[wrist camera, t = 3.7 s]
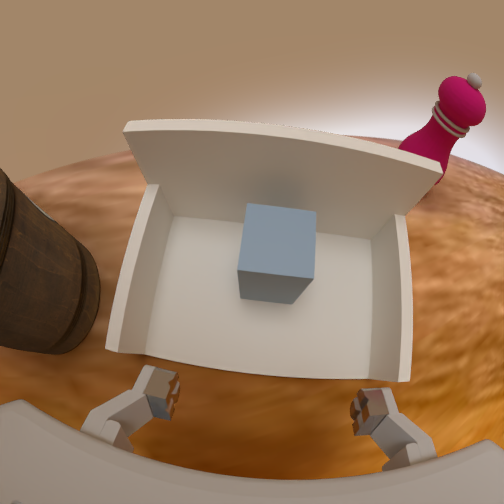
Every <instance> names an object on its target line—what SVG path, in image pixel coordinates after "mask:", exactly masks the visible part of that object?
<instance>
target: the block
mask: <svg viewBox="0 0 504 504" xmlns="http://www.w3.org/2000/svg"><path fill="white" fill-rule="evenodd" d="M315 246H316V212H314V211H307V210H300V209H292V208H284V207H277V206H268V205H260V204H251V203H247V207H246V213H245V220H244V227H243V233H242V240H241V247H240V253H239V260H238V267H237V274H238V282H239V291H240V299H248V300H256V301H265V302H274V303H283V304H293V303H294V302H295V301H296V300H297V298H298V297H299V296H300V295H301V294H302V293H303V291H304V290H305V289H306V288H307V287H308V285H309V284H310V283H311V282H312V281H313V280H314V271H315Z"/></svg>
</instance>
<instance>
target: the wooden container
mask: <svg viewBox="0 0 504 504" xmlns="http://www.w3.org/2000/svg"><path fill="white" fill-rule="evenodd" d="M99 295H100V284H99V275H98V271H97V267H96V264H95V262H94V259H93V257H92V256H91V254H90V252H89V251H88V250H87V249H86V248H85V247H84V246H83V245H82V244H81V243H80V242H79V241H78V240H76V239H75V238H74V237H73V236H72V235H70V234H69V233H68V232H67V231H66V230H65V229H64V228H63V227H62V226H60V225H59V224H58V223H57V222H56V221H55V220H53V219H52V218H51V217H50V216H49V215H48V214H46V213H45V212H44V211H43V210H42V209H40V208H39V207H38V206H37V205H36V204H35V203H33V202H32V201H31V200H30V199H29V198H28V197H27V196H26V195H25V194H24V193H23V192H21V191H20V190H19V189H18V188H17V187H16V186H15V185H14V184H13V183H12V182H11V181H10V180H9V178H8V176H7V175H6V174H5V173H4V172H3V171H2V169H0V346H4V347H8V348H13V349H18V350H23V351H30V352H37V353H44V354H62V353H66V352H68V351H70V350H72V349H73V348H75V347H76V346H77V345H78V344H79V343H80V342H81V341H82V340H83V339H84V337H85V336H86V335H87V333H88V332H89V330H90V328H91V326H92V324H93V322H94V319H95V316H96V313H97V309H98V304H99Z"/></svg>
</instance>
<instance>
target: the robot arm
mask: <svg viewBox="0 0 504 504" xmlns="http://www.w3.org/2000/svg"><path fill="white" fill-rule="evenodd" d="M178 378H179V376H178V373H177V372H173V371H169V370H165V369H161V368H157V367H153V366H150V365H145V366H144V367H143V369H142V370H141V372H140V374H139V376H138V378H137V380H136V382H135V384H134V386H133V389H132V390H127V391H125V392H124V393H122V394H120V395H118V396H116V397H115V398H113V399H111V400H109V401H107V402H106V403H104V404H102V405H100V406H98V407H96V408H95V409H93V410H91V411H90V413H89V414H88V416H87V418H86V420H85V422H84V424H83V425H82V427H81V429H80V431H78V430H76V429H74V428H72V427H70V426H68V425H66V424H64V423H62V422H60V421H59V420H57V419H55V418H53V417H51V416H50V415H48V414H46V413H45V412H43V411H41V410H40V409H38V408H36V407H35V406H33V405H32V404H30V403H29V402H27V401H25V400H22V399H19V400H15V401H12V402H8V403H6V404H3V405H0V504H504V450H503V449H502V448H501V447H499V446H498V445H497V444H495V443H494V442H492V441H491V440H489V439H485V440H482V441H479V442H477V443H475V444H473V445H470V446H468V447H465V448H463V449H460V450H458V451H455V452H452V453H450V454H447V455H444V456H441V457H437V454H436V451H435V448H434V445H433V442H432V439H431V437H429V436H428V435H427V434H426V433H425V432H423V431H422V430H421V429H420V428H419V427H418V426H416V425H415V424H414V423H413V422H412V421H410V420H409V419H408V418H407V417H406V416H405V415H403V414H402V413H399V411H398V408H397V405H396V402H395V400H394V397H393V394H392V391H391V389H390V388H369V389H360V390H359V391H358V393H357V397H356V398H355V399H353V401H352V403H351V406H350V416H351V418H352V419H353V420H354V423H353V424H352V426H353V432H354V436H360V435H370V436H371V437H372V439H373V440H374V441H375V442H376V443H377V445H378V446H379V447H380V448H381V449H382V450H383V452H384V453H385V454H386V455H387V456H388V458H389V459H390V460H389V461H388V462H387V463H385V464H384V465H383V466H382V471H383V472H378V473H372V474H365V475H358V476H351V477H341V478H330V479H311V480H277V479H258V478H246V477H237V476H229V475H222V474H215V473H209V472H203V471H198V470H193V469H188V468H184V467H180V466H175V465H171V464H167V463H164V462H160V461H157V460H153V459H150V458H146V457H143V456H140V455H137V454H134V453H133V450H134V448H133V446H132V444H131V443H130V441H129V439H128V438H127V437H129V436H130V435H131V434H133V433H134V432H135V431H137V430H138V429H139V428H141V427H142V426H143V425H144V424H146V423H147V422H148V421H150V420H151V419H152V418H153V417H157V418H161V419H165V420H170V421H171V419H172V416H173V413H174V410H175V408H174V404H175V403H176V402H177V401H178V398H179V393H180V383H179V382H178Z"/></svg>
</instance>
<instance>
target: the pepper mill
mask: <svg viewBox="0 0 504 504" xmlns="http://www.w3.org/2000/svg"><path fill="white" fill-rule="evenodd" d="M481 85H482V81H481V78H480V77H479V76H478V75H477V74H475V73H470V74H469V75H468V77H467V80H466V79H464V78H461V77H457V76H451V77H448V78H446V79H445V80H444V81H443V82H442V84H441V85H440V87H439V90H438V95H439V99H440V101H437V102H436V103H435V106H434V107H433V108H432V113H433V115H432V117H431V119H430V121H429V122H428V123H427V124H426V125H425V126H424V127H423V128H422V129H420V130H419V131H417V132H415V133H413V134H412V135H410V136H408V137H407V138H406V139H405V140H404V141H403V142H402V143H401V145H400V146H399V148H398V149H400V150H403V151H406V152H410V153H413V154H416V155H419V156H422V157H425V158H428V159H431V160H434V161H437V162H440V165H441V168H442V171H443V175H442V176H441V177H440V179H439V180H438V181H437V182H436V183H435V184H434V185H436V184H437V183H439V181H440V180H441V179H442V177H443V176H444V174H445V171H446V169H447V164H448V159H449V155H450V152H451V149H452V147H453V146H454V144H455V142H456V141H457V140H458V139H459V138H463V137H465V136H466V133H467V132H468V131H469V129H470V128H469V126H475V125H478V124H479V123H481V122H482V120H483V118H484V116H485V113H486V104H485V101H484V98H483V96H482V94H481V93H480V92H479V90H478V88H480V87H481Z"/></svg>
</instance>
